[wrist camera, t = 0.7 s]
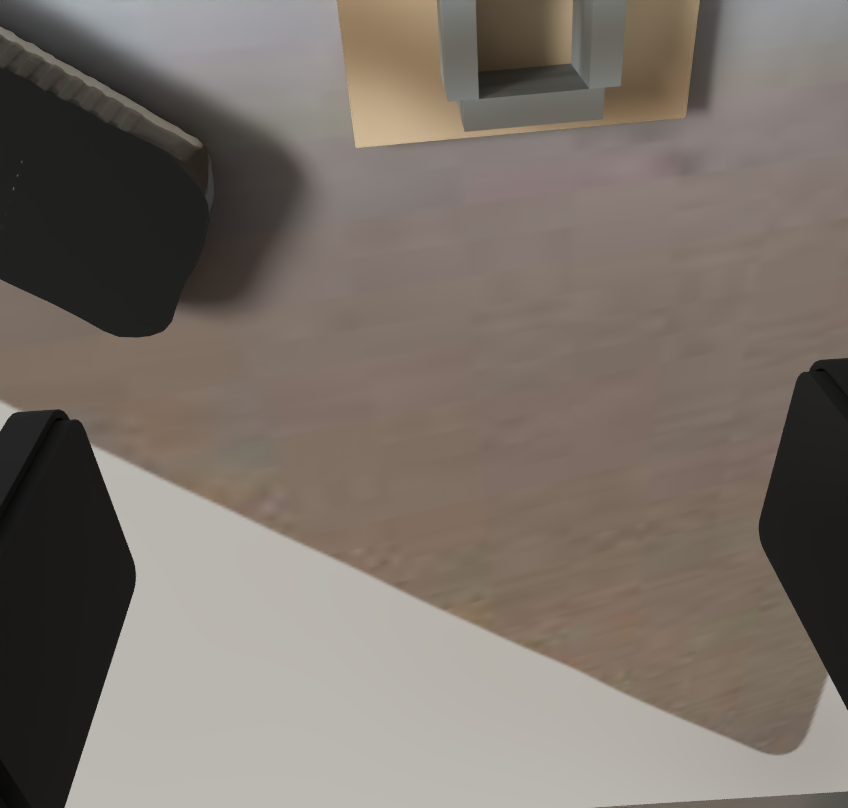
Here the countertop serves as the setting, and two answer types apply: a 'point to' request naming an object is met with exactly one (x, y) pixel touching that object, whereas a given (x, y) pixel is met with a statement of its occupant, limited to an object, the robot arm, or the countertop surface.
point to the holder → (512, 65)
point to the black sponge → (95, 195)
